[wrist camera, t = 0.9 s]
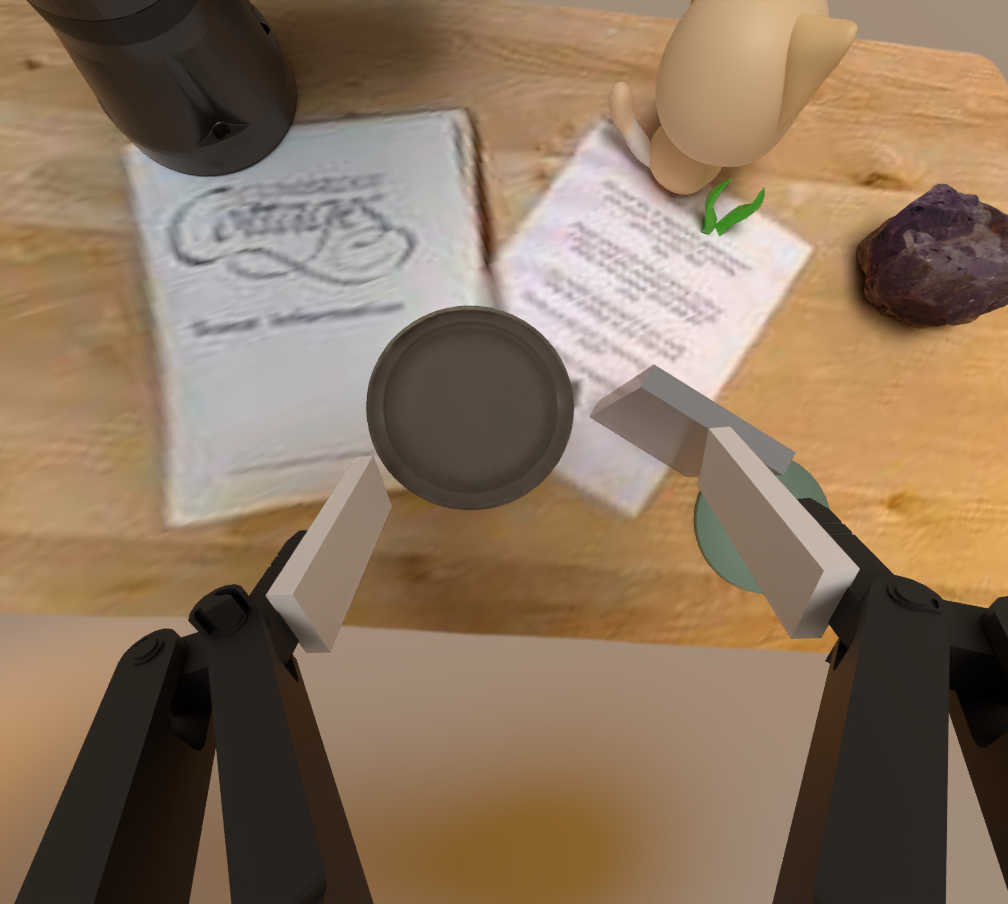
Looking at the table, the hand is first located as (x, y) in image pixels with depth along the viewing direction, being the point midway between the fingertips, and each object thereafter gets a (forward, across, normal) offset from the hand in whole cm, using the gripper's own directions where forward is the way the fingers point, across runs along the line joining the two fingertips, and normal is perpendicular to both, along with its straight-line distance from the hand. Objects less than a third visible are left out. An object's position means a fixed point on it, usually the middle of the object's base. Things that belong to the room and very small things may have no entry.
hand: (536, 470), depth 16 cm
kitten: (+32, +15, +9) cm, 37 cm away
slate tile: (+17, +9, -10) cm, 21 cm away
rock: (+27, +34, -2) cm, 43 cm away
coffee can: (+16, -5, -7) cm, 18 cm away
